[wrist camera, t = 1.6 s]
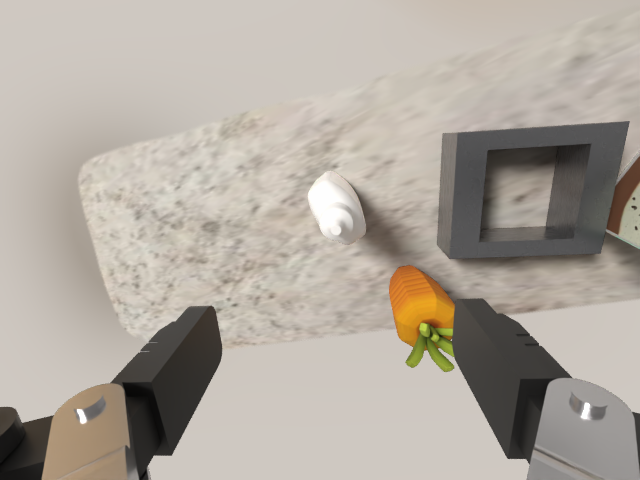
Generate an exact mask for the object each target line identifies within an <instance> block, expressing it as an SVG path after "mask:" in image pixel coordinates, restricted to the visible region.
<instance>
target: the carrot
mask: <svg viewBox="0 0 640 480" xmlns="http://www.w3.org/2000/svg"><path fill="white" fill-rule="evenodd" d="M389 294H390V300H391V305H392V310H393V315H394V320H395V325H396V329H397V333H398V336H399V338H400V339H401V340H402V341H404V342H405V343H407V344H409V345H410V346H412V347H414V348H413V350H412V352H411V354H410V356H409V357H408V359H407V360H406V363H407V365H408V366H410V367H411V368H413V367H415V366H417V365H418V363H419V362H420V360H421V359H422V357H423V353H424V351H425V350H428V352H429V354H430V356H431V358H432V359H433V361H434V362H435V363H436V364H437V365H438V366H439V367H440V368H441V369H442V370H443V371H444V372H448V371H451V370H453V369H454V365H453V364H452V363H451V362H450V361H449V360H448V359H447V358H446V357H445V356H444V355H443V354H442V353H441V352H440V351H439V350H438V348H441V349H442V350H443V351H444V352H446V353H448V354H449V355H451V356H453V357H454V354H453V348H452V341H450V340H451V339H452V335H453V322H454V309H455V305H454V303H453V302H452V300H451V299H450V298H449V296H448V295H447V294H446V292H445V291H444V290H443V289H442V287H441V286H440V285H439V284H438V283H437V282H436V281H434V280H433V279H432V278H431V277H429V276H428V275H426V274H425V273H423V272H422V271H420V270H419V269H417V268H415V267H414V266H410V265H407V266H402V267H399V268H398V269H397V270H396V272H395V273H394V274H393V276H392V278H391V279H390V286H389Z"/></svg>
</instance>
